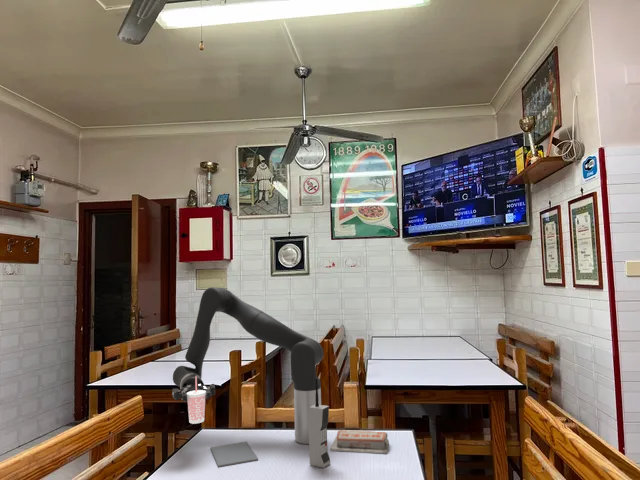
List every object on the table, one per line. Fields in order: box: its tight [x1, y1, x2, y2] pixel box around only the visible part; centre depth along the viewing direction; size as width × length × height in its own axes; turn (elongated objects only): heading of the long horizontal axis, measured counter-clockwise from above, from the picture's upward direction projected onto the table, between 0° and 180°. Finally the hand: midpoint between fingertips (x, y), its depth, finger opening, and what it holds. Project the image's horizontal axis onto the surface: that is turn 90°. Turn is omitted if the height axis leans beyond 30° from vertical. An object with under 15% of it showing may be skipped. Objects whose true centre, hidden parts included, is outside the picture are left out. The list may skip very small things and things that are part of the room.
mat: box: [210, 441, 259, 468], centre depth 143 cm, size 12×16×1 cm
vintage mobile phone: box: [308, 377, 331, 469], centre depth 134 cm, size 4×5×25 cm
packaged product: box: [330, 429, 390, 455], centre depth 147 cm, size 18×5×10 cm
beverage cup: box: [187, 376, 206, 425], centre depth 144 cm, size 6×6×14 cm
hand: (197, 397), depth 142 cm, fingers closed on beverage cup, 6 cm apart
